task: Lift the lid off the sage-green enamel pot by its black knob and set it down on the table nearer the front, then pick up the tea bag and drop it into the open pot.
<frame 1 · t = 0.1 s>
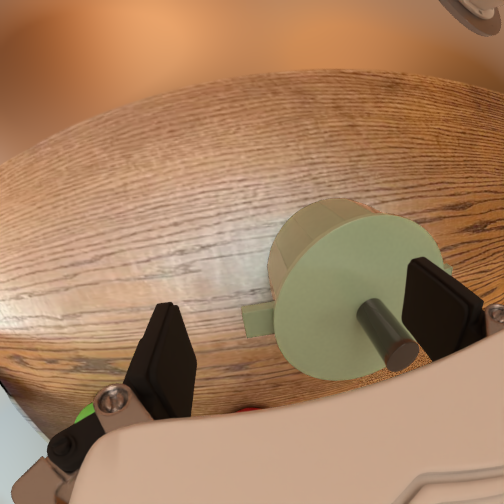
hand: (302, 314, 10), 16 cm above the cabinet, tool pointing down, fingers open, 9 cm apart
pot: (333, 264, 28), on the cabinet
lid: (367, 307, 20), point 8 cm above the cabinet, touching pot
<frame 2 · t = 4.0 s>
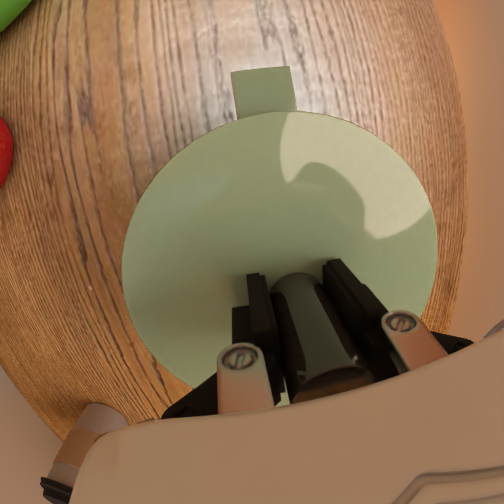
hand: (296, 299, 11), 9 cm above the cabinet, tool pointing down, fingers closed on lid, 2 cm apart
pot: (269, 233, 20), on the cabinet
coffee cup: (106, 415, 27), on the cabinet
lid: (293, 290, 12), point 9 cm above the cabinet, touching gripper, pot
toy bird: (14, 5, 10), on the cabinet
apple: (2, 152, 16), on the cabinet
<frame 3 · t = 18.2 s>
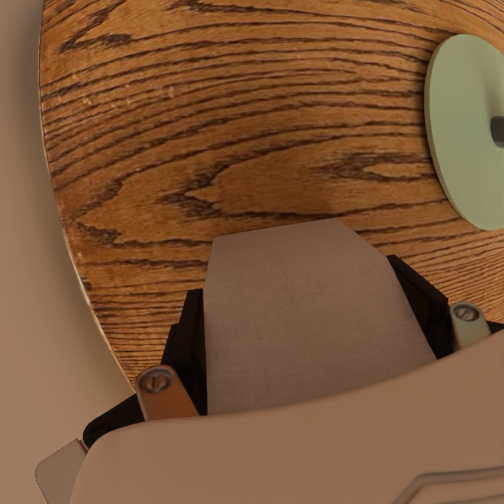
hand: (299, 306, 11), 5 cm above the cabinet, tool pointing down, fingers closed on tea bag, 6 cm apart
lid: (493, 131, 13), point 1 cm above the cabinet
tea bag: (279, 256, 16), on the cabinet, touching gripper
when the fingers open (6 cm above the cabinet, at t = 28.2 s): tea bag stays where it is, resting on pot.
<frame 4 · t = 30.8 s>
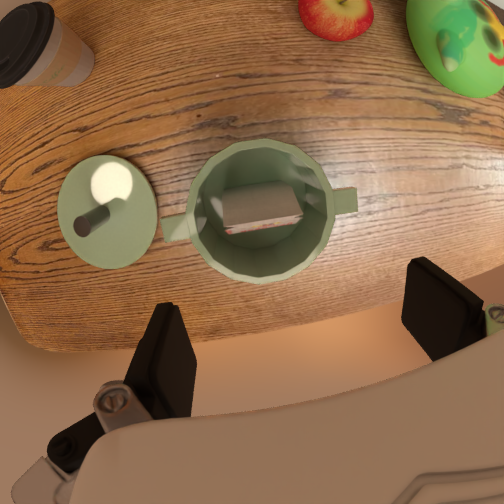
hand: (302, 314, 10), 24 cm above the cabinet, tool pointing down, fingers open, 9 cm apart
pot: (255, 198, 33), on the cabinet
coffee cup: (77, 66, 25), on the cabinet
lid: (104, 213, 32), point 1 cm above the cabinet
toy bird: (428, 44, 26), on the cabinet
tea bag: (255, 199, 33), resting on pot
apple: (323, 23, 25), on the cabinet
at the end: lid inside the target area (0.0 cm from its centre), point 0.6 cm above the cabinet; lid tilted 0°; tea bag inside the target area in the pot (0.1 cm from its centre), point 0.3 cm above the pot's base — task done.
